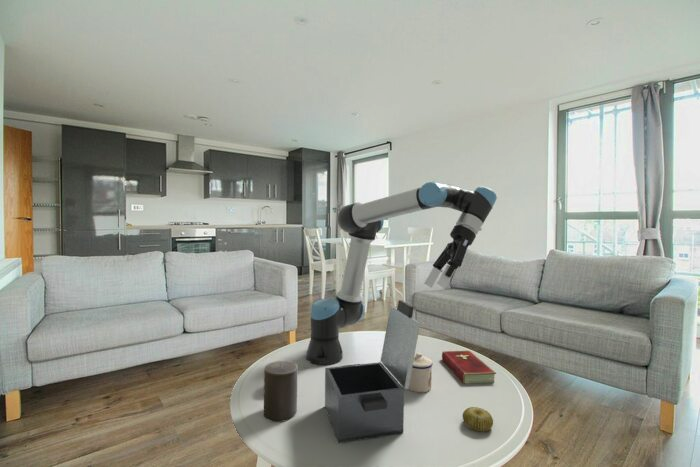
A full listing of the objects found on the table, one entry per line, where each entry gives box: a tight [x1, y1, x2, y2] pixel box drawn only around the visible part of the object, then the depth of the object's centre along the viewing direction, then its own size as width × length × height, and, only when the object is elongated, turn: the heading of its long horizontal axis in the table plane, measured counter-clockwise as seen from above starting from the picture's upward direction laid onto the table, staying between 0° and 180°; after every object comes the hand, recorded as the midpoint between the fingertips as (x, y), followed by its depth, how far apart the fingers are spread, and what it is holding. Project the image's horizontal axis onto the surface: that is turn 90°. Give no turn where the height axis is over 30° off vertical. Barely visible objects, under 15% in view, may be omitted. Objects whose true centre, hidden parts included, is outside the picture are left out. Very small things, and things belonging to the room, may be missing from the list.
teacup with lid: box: [408, 352, 433, 393], centre depth 119 cm, size 12×9×12 cm
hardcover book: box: [441, 350, 497, 385], centre depth 131 cm, size 12×21×4 cm, turn 6°
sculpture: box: [462, 406, 494, 432], centre depth 96 cm, size 8×4×8 cm
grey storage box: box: [324, 361, 405, 444], centre depth 98 cm, size 24×18×12 cm
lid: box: [380, 299, 421, 390], centre depth 100 cm, size 18×21×1 cm
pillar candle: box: [263, 360, 299, 423], centre depth 101 cm, size 10×10×15 cm
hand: (433, 285), depth 108 cm, fingers open, 13 cm apart
